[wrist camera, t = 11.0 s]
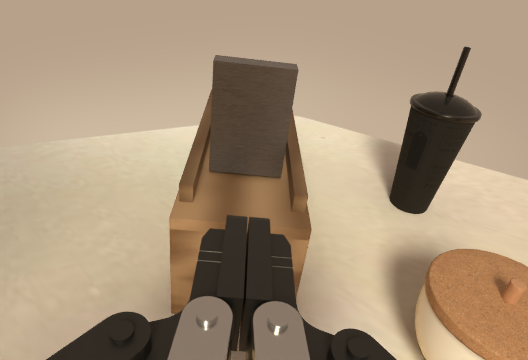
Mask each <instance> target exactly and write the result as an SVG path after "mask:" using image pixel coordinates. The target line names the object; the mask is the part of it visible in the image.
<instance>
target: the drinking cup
mask: <svg viewBox="0 0 528 360" xmlns="http://www.w3.org/2000/svg"><path fill="white" fill-rule="evenodd" d="M470 49H471V48H469V47H464V48H463V51H462V54H461V57H460V59H459V62H458V65H457V67H456V70H455V73H454V75H453V78H452V80H451V83H450V86H449V88H448V91H447V93H446V92H428V93H423V94H416V95H413V96H412V97H411V99H410V104H411V109H410V113H409V117H408V122H407V126H406V130H405V134H404V139H403V143H402V147H401V152H400V156H399V160H398V164H397V169H396V173H395V177H394V182H393V186H392V190H391V194H390V201H391V203H392V204H393V205H394V206H395V207H397V208H398V209H400V210H402V211H405V212H408V213H413V214H420V213H424V212H425V211H426V210H427V208H428V207H429V205H430V203H431V201H432V199H433V197H434V196H435V194H436V192H437V190H438V188H439V187H440V185H441V183H442V181H443V179H444V178H445V176H446V174H447V172H448V170H449V169H450V167H451V165H452V163H453V161H454V160H455V158H456V156H457V154H458V152H459V151H460V149H461V147H462V145H463V143H464V142H465V140H466V138H467V136H468V134H469V133H470V131H471V129H472V127H473V125H474V124H475V122H477V121H478V120H479V119H480V118H481V112H480V111H479V110H478V109H477V108H476V107H474V106H473V105H472V104H471V103H469V102H468V101H467V100H465V99H464V98H461V97H459V96H457V95H454V94H453V93H454V91H455V88H456V86H457V83H458V80H459V78H460V75H461V73H462V70H463V68H464V65H465V62H466V60H467V57H468V54H469V52H470Z"/></svg>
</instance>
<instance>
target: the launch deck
mask: <svg viewBox="0 0 528 360" xmlns="http://www.w3.org/2000/svg"><path fill="white" fill-rule="evenodd" d="M211 108H212V90H211V93H210V96H209V99H208V102H207V105H206V108H205V110H204V113H203V117H202V119H201V122H200V125H199V128H198V131H197V134H196V137H195V140H194V142H193V145H192V148H191V151H190V154H189V157H188V160H187V163H186V166H185V169H184V172H183V175H182V177H181V180H180V183H179V191H178V194H177V197H176V200H175V203H174V206H173V209H172V212H171V215H170V218H169V219H170V265H171V311H172V313H176V314H177V313H179V312H180V311H181V310H182V309H183V308H184V307H185V306H186V305H187V303H188V301H189V299H190V295H191V290H192V285H193V280H194V275H195V270H196V265H197V261H198V255H199V250H200V245H201V240H202V237H203V236H204V235H205V234H206V232H207V231H208V230H209V229H210V228H213V229H224V230H225V226H226V218H227V215H234V216H246V217H248V219H247V230H248V222H249V217H258V218H269V219H270V231H271V234H283V235H284V236H285V237H286V239H287V240H288V242H289V243H290V245H291V253H292V263H293V274H294V284H295V295H296V296H297V291H298V287H299V283H300V278H301V274H302V269H303V265H304V261H305V256H306V252H307V248H308V243H309V239H310V234H311V224H310V218H309V212H308V207H307V199H308V193H307V187H306V182H305V176H304V171H303V165H302V160H301V154H300V149H299V143H298V138H297V132H296V127H295V121H294V116H293V111H292V112H291V118H290V125H289V131H288V137H287V143H286V150H285V156H284V162H283V168H282V175H281V177H270V176H260V175H249V174H239V173H228V172H217V171H209V155H210V132H211Z"/></svg>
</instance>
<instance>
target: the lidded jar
mask: <svg viewBox="0 0 528 360" xmlns="http://www.w3.org/2000/svg"><path fill="white" fill-rule="evenodd" d="M415 330H416V336H417V340H418V344H419V346H420V349H421V351H422V354H423V356H424V357H425V359H426V360H528V267H527V266H525V265H523V264H521V263H519V262H517V261H514V260H512V259H510V258H507V257H504V256H501V255H498V254H495V253H491V252H487V251H482V250H476V249H457V250H452V251H448V252H445V253H443V254H441V255H439V256H438V257H436V258H435V259H434V261H433V262H432V263H431V265H430V267H429V269H428V272H427V274H426V278H425V282H424V284H423V286H422V289H421V291H420V294H419V297H418V301H417V305H416V312H415Z"/></svg>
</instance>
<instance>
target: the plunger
mask: <svg viewBox="0 0 528 360" xmlns="http://www.w3.org/2000/svg"><path fill="white" fill-rule="evenodd" d="M297 74H298V67H297V64H290V63H280V62H271V61H263V60H254V59H245V58H236V57H228V56H219V55H216V56H215V58H214V61H213V85H212V108H211V132H210V155H209V171H217V172H228V173H239V174H249V175H260V176H270V177H281V175H282V168H283V162H284V156H285V150H286V143H287V137H288V131H289V125H290V118H291V112H292V105H293V100H294V93H295V86H296V81H297Z"/></svg>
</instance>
